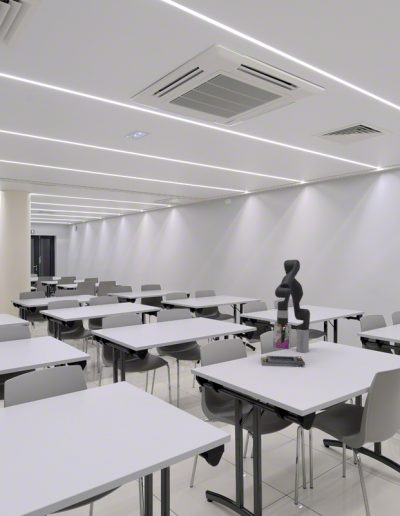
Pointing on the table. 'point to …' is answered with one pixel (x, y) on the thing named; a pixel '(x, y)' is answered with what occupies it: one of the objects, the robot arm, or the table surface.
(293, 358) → the grey tray
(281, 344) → the candy bar box
